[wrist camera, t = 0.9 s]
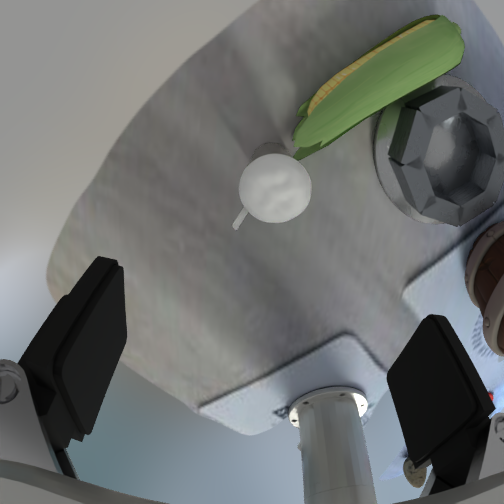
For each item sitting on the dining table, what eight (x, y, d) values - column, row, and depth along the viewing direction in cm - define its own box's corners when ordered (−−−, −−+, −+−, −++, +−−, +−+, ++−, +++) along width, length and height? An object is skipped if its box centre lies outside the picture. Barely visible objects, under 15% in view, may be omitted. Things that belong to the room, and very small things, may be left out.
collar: (466, 234, 29) (484, 251, 26) (352, 200, 28) (364, 216, 25) (508, 112, 22) (531, 119, 19) (396, 48, 21) (415, 44, 17)
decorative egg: (396, 460, 60) (403, 492, 51) (413, 449, 57) (422, 483, 49) (409, 460, 61) (417, 491, 53) (426, 450, 59) (435, 481, 50)
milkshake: (226, 159, 27) (209, 199, 18) (277, 124, 25) (288, 145, 16) (256, 199, 28) (255, 255, 20) (307, 167, 27) (331, 210, 18)
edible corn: (484, 59, 17) (467, 12, 14) (301, 182, 24) (265, 140, 21) (448, 46, 20) (430, 5, 17) (286, 152, 27) (254, 116, 25)
